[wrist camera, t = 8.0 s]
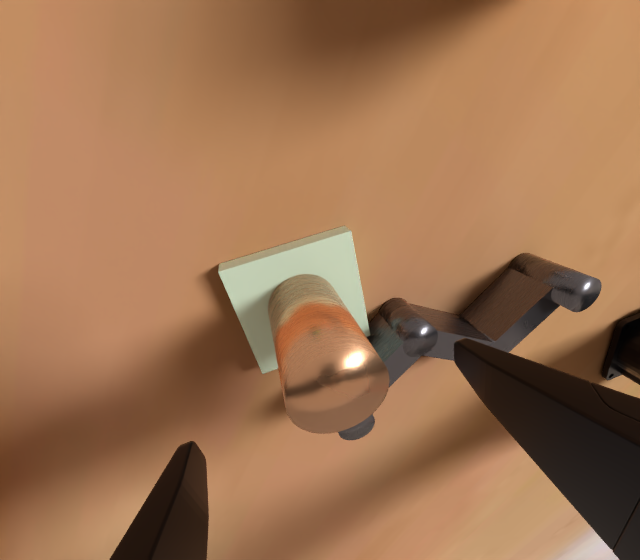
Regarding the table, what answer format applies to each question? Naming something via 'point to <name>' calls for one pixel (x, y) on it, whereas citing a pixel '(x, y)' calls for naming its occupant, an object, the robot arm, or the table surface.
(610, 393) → the robot arm
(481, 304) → the dark grey zigzag bar
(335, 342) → the cylinder
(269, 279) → the pad
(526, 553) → the table surface
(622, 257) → the table surface
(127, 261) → the table surface
